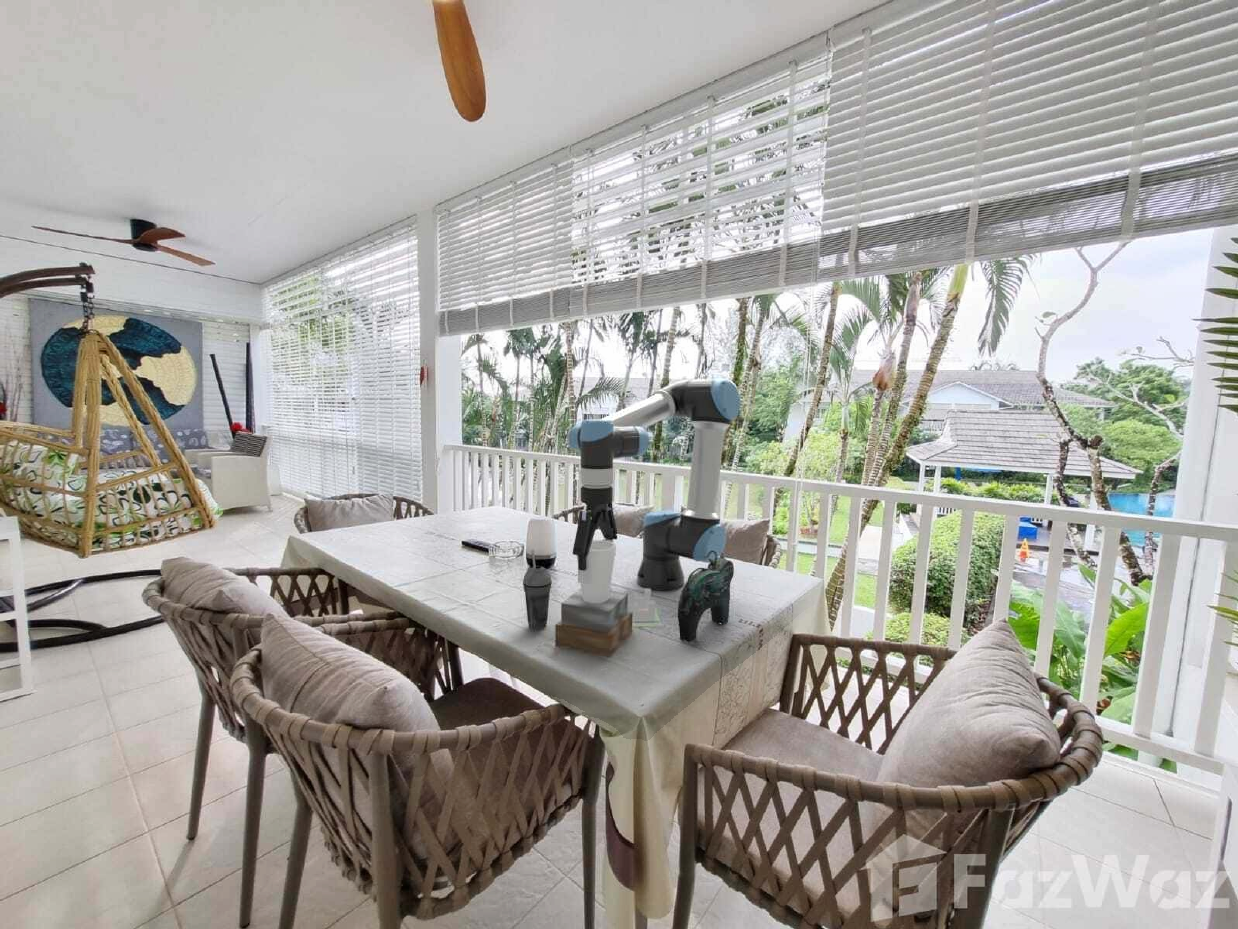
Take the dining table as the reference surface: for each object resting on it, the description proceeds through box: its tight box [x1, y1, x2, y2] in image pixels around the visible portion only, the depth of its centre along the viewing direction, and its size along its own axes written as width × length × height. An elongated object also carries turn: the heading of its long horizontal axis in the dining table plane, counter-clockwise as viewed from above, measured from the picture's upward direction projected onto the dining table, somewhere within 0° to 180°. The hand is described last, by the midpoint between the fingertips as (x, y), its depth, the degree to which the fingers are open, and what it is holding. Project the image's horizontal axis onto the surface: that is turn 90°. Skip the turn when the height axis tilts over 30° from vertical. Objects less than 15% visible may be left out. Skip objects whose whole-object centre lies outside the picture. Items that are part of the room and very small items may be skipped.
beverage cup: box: [522, 549, 553, 631], centre depth 125 cm, size 7×7×20 cm
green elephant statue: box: [677, 550, 735, 643], centre depth 125 cm, size 20×6×20 cm, turn 136°
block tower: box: [554, 588, 633, 658], centre depth 120 cm, size 14×14×10 cm
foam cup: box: [575, 539, 617, 603], centre depth 118 cm, size 10×9×13 cm
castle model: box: [610, 587, 663, 628], centre depth 134 cm, size 15×15×7 cm
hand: (596, 573), depth 118 cm, fingers open, 13 cm apart
